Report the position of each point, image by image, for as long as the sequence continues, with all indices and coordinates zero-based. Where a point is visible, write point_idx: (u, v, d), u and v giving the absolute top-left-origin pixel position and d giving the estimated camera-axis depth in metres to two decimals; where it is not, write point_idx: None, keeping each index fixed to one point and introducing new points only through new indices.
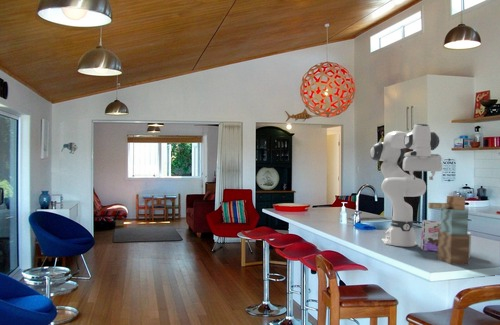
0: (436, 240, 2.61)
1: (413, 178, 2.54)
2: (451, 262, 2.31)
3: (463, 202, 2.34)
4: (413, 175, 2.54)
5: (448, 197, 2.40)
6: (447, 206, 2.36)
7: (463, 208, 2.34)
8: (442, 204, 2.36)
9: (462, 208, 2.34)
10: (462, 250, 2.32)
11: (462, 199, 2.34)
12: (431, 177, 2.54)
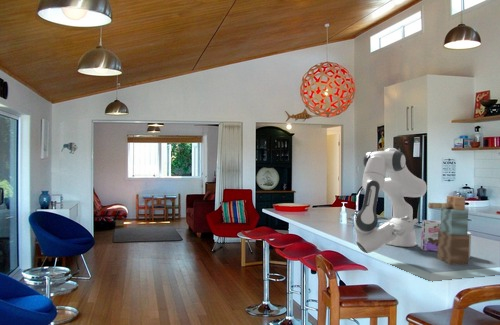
0: (436, 240, 2.61)
1: None
2: (451, 262, 2.31)
3: (463, 202, 2.34)
4: (405, 220, 2.40)
5: (448, 197, 2.40)
6: (447, 206, 2.36)
7: (463, 208, 2.34)
8: (442, 204, 2.36)
9: (462, 208, 2.34)
10: (462, 250, 2.32)
11: (462, 199, 2.34)
12: None
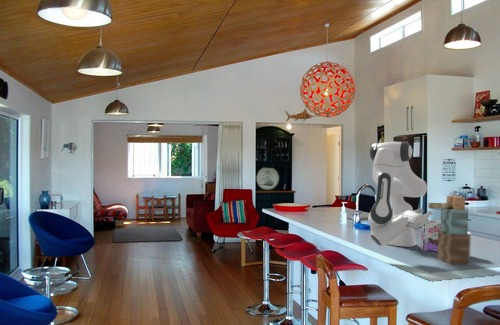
0: (436, 240, 2.61)
1: (422, 211, 2.41)
2: (451, 262, 2.31)
3: (463, 202, 2.34)
4: (419, 213, 2.41)
5: (448, 197, 2.40)
6: (447, 206, 2.36)
7: (463, 208, 2.34)
8: (442, 204, 2.36)
9: (462, 208, 2.34)
10: (462, 250, 2.32)
11: (462, 199, 2.34)
12: None
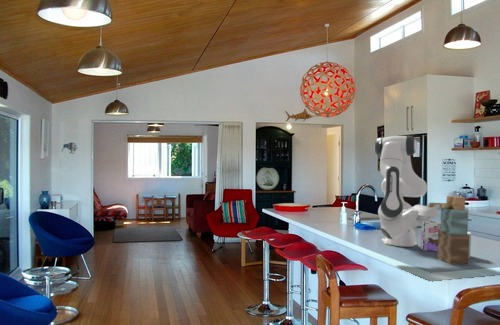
0: (436, 240, 2.61)
1: None
2: (451, 262, 2.31)
3: (463, 202, 2.34)
4: None
5: (448, 197, 2.40)
6: (447, 206, 2.36)
7: (463, 208, 2.34)
8: (442, 204, 2.36)
9: (462, 208, 2.34)
10: (462, 250, 2.32)
11: (462, 199, 2.34)
12: None
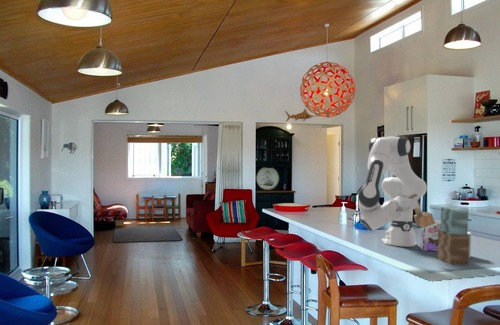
0: (436, 240, 2.61)
1: None
2: (451, 262, 2.31)
3: (430, 223, 2.32)
4: None
5: (424, 212, 2.38)
6: (419, 211, 2.34)
7: (424, 225, 2.32)
8: (419, 206, 2.34)
9: (424, 224, 2.32)
10: (462, 250, 2.32)
11: (432, 221, 2.32)
12: None
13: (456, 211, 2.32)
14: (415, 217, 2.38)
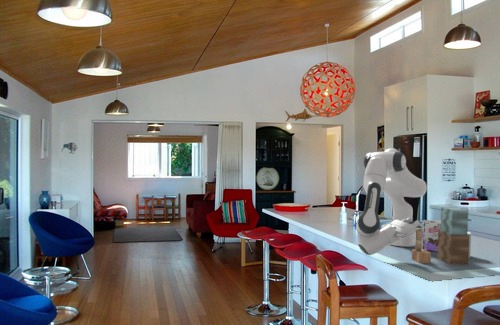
0: (436, 240, 2.61)
1: None
2: (451, 262, 2.31)
3: (425, 261, 2.32)
4: (407, 222, 2.40)
5: (423, 250, 2.39)
6: (419, 246, 2.35)
7: (420, 261, 2.32)
8: (421, 241, 2.35)
9: (420, 260, 2.32)
10: (462, 250, 2.32)
11: (428, 260, 2.33)
12: None
13: (456, 211, 2.32)
14: (413, 251, 2.38)
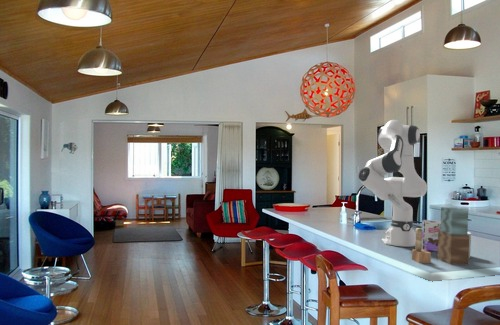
0: (436, 240, 2.61)
1: None
2: (451, 262, 2.31)
3: (425, 261, 2.32)
4: None
5: (423, 250, 2.39)
6: (419, 246, 2.35)
7: (420, 261, 2.32)
8: (421, 241, 2.35)
9: (420, 260, 2.32)
10: (462, 250, 2.32)
11: (428, 260, 2.33)
12: None
13: (456, 211, 2.32)
14: (413, 251, 2.38)
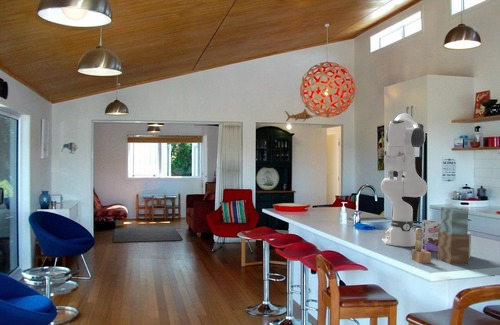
0: (436, 240, 2.61)
1: (389, 178, 2.46)
2: (451, 262, 2.31)
3: (425, 261, 2.32)
4: (389, 175, 2.46)
5: (423, 250, 2.39)
6: (419, 246, 2.35)
7: (420, 261, 2.32)
8: (421, 241, 2.35)
9: (420, 260, 2.32)
10: (462, 250, 2.32)
11: (428, 260, 2.33)
12: (397, 178, 2.37)
13: (456, 211, 2.32)
14: (413, 251, 2.38)
